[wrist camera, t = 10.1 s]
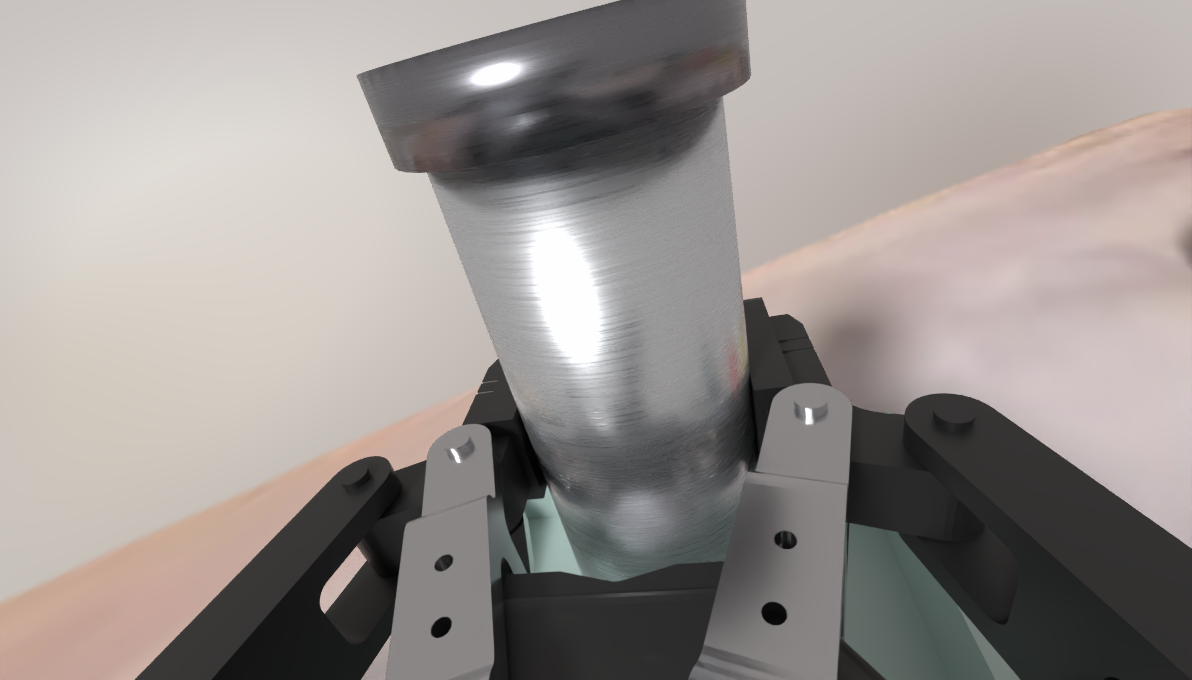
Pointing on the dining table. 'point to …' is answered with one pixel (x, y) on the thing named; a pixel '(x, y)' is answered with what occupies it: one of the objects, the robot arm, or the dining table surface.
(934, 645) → the bin
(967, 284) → the dining table surface
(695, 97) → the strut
